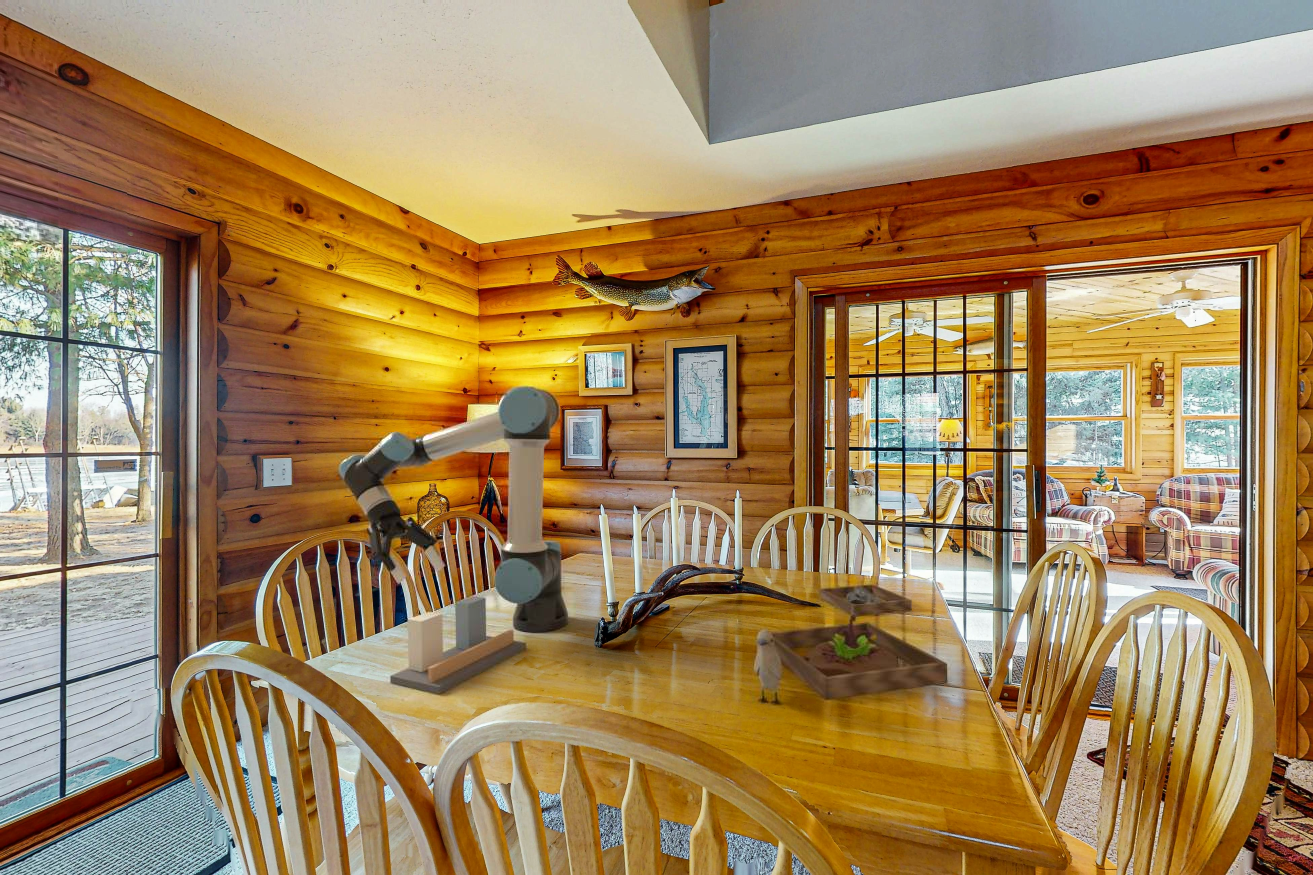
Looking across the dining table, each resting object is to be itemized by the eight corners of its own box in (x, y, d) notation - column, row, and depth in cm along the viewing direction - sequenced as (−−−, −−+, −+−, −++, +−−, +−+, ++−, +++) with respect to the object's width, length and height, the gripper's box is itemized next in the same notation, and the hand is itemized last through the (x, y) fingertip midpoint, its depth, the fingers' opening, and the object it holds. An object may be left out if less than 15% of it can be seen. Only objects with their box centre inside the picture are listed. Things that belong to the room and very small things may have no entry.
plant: (908, 661, 136) (907, 612, 136) (890, 693, 119) (889, 637, 119) (821, 645, 146) (820, 599, 146) (794, 672, 130) (793, 621, 130)
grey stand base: (390, 682, 127) (390, 661, 127) (482, 640, 152) (481, 623, 152) (439, 694, 121) (438, 672, 121) (526, 648, 146) (525, 630, 146)
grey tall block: (456, 648, 143) (455, 602, 143) (473, 640, 148) (473, 596, 148) (468, 650, 141) (467, 604, 141) (486, 642, 146) (485, 597, 146)
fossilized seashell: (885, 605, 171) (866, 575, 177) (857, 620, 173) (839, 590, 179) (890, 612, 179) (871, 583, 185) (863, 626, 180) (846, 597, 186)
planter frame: (867, 637, 150) (867, 622, 150) (947, 682, 123) (947, 663, 123) (764, 649, 143) (764, 632, 143) (825, 699, 116) (825, 679, 116)
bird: (748, 715, 110) (747, 634, 110) (763, 686, 122) (762, 613, 122) (775, 720, 108) (774, 637, 108) (787, 689, 121) (786, 616, 120)
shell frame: (872, 593, 191) (872, 584, 191) (911, 610, 172) (911, 600, 172) (818, 598, 186) (818, 588, 186) (853, 616, 168) (853, 605, 167)
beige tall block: (408, 669, 130) (407, 619, 130) (430, 659, 136) (429, 611, 135) (422, 672, 128) (421, 621, 128) (443, 662, 134) (442, 613, 134)
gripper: (406, 511, 167) (446, 572, 162) (330, 522, 143) (374, 594, 138) (423, 494, 165) (464, 556, 160) (348, 503, 141) (393, 575, 137)
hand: (422, 574), depth 149 cm, fingers open, 13 cm apart
